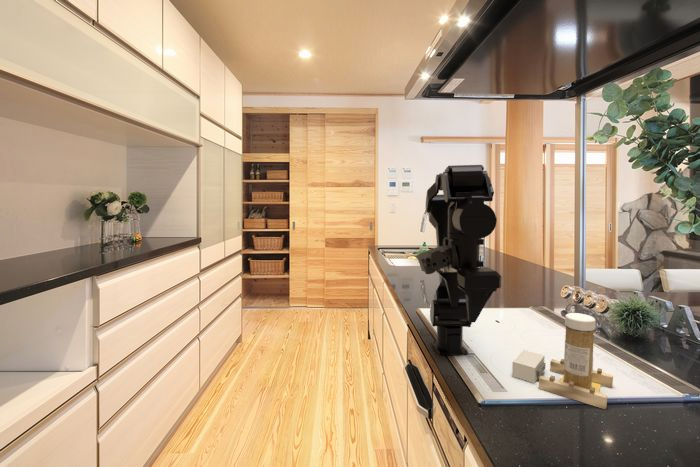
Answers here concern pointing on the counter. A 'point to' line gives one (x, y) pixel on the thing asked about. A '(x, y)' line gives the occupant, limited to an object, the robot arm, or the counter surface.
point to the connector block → (528, 366)
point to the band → (594, 385)
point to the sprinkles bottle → (579, 349)
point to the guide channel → (575, 391)
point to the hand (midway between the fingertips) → (462, 313)
